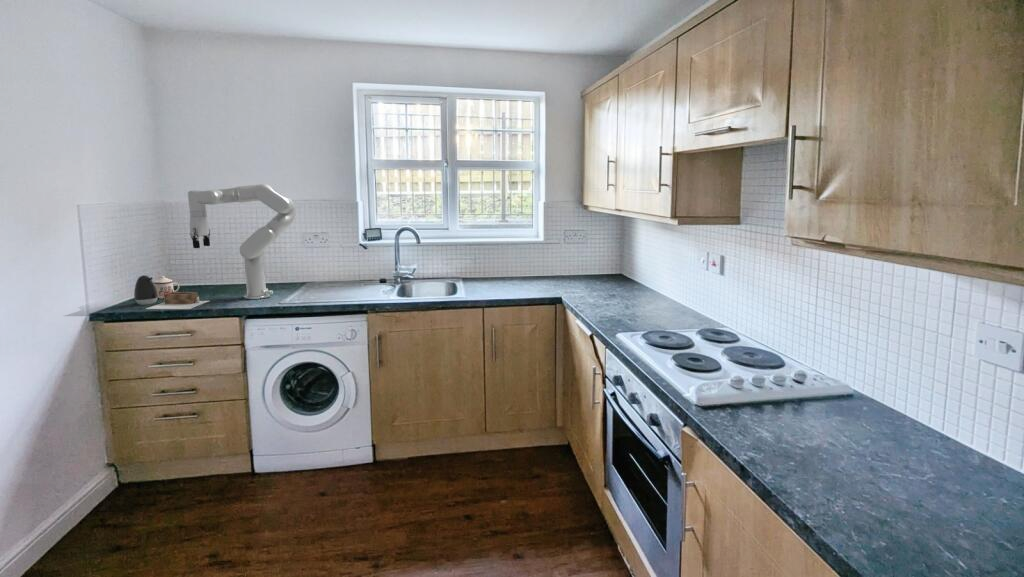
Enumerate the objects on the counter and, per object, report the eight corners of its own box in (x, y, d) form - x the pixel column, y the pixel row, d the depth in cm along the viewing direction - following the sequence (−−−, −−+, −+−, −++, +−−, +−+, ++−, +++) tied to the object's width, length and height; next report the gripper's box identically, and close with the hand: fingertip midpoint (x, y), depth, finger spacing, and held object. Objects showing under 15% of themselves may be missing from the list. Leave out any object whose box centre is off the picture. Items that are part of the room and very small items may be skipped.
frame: (198, 301, 290) (197, 292, 289) (192, 304, 284) (191, 294, 283) (172, 301, 290) (170, 292, 289) (164, 304, 284) (163, 294, 283)
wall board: (210, 301, 292) (209, 295, 291) (189, 310, 273) (188, 303, 272) (168, 301, 292) (167, 295, 291) (145, 310, 273) (144, 302, 272)
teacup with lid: (158, 299, 297) (156, 278, 294) (152, 297, 302) (150, 276, 300) (183, 296, 305) (180, 275, 303) (177, 294, 311) (174, 273, 309)
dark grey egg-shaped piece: (146, 307, 279) (142, 277, 276) (130, 306, 282) (126, 276, 279) (163, 303, 289) (160, 274, 286) (148, 301, 292) (144, 273, 289)
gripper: (200, 213, 298) (203, 245, 301) (181, 215, 281) (185, 249, 284) (214, 213, 298) (217, 245, 301) (196, 215, 281) (199, 249, 284)
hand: (201, 247), depth 292 cm, fingers open, 9 cm apart
